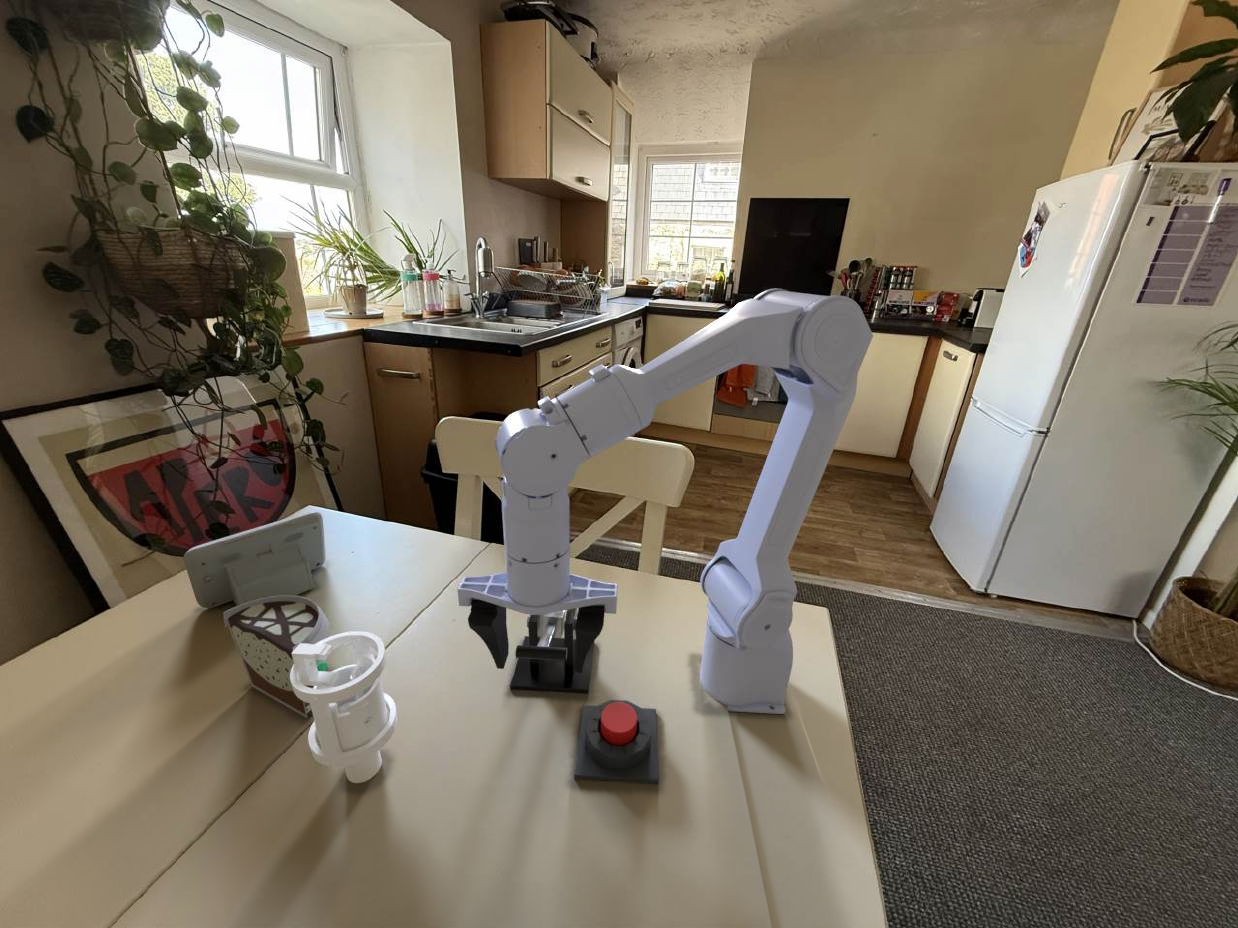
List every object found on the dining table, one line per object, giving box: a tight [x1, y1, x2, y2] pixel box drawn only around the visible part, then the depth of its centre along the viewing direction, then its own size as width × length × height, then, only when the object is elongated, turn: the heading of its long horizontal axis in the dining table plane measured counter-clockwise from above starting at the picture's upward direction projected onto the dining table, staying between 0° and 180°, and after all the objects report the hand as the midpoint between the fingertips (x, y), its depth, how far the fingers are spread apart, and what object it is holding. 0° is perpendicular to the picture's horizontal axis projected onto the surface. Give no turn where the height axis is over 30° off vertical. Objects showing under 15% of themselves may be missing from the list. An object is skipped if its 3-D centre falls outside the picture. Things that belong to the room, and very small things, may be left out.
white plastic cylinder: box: [290, 630, 398, 784], centre depth 44 cm, size 7×7×15 cm
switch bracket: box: [509, 608, 595, 695], centre depth 58 cm, size 8×9×9 cm
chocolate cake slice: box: [222, 595, 330, 719], centre depth 55 cm, size 12×6×10 cm, turn 65°
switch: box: [515, 610, 567, 661], centre depth 54 cm, size 10×5×2 cm, turn 178°
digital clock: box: [183, 511, 327, 609], centre depth 69 cm, size 16×9×11 cm, turn 127°
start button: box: [601, 702, 637, 746], centre depth 49 cm, size 4×4×2 cm
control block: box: [573, 699, 660, 785], centre depth 50 cm, size 8×8×3 cm
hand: (541, 663), depth 49 cm, fingers open, 7 cm apart
